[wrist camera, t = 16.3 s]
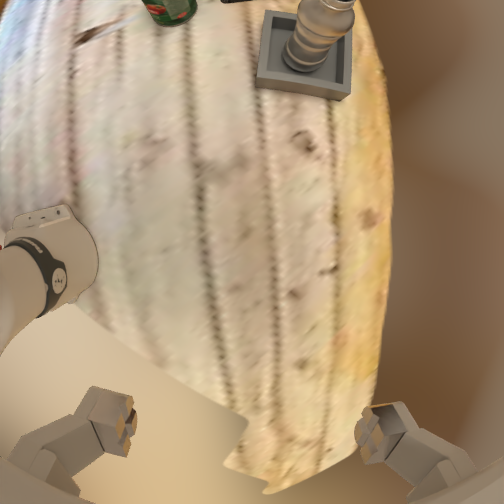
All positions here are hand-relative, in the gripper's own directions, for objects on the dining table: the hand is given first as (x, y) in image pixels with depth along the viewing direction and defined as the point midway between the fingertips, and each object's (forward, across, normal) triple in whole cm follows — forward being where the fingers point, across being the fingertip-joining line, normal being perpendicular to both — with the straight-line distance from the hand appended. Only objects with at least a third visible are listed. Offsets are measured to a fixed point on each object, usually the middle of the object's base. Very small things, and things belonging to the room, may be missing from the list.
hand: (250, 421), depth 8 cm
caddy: (+37, -6, -28) cm, 47 cm away
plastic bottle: (+36, -6, -28) cm, 46 cm away
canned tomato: (+37, +16, -37) cm, 55 cm away
